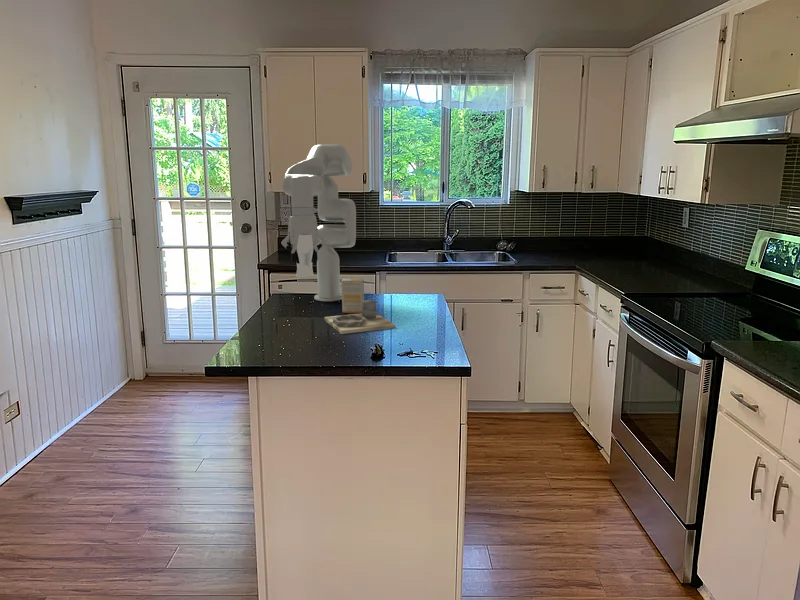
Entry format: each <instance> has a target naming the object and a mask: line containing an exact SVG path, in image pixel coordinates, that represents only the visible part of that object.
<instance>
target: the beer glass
mask: <svg viewBox="0 0 800 600" xmlns="http://www.w3.org/2000/svg"><path fill="white" fill-rule="evenodd" d="M295 253H296V257H297V264H296V274H295V275H296V277H297V278H303V279H304V278H305V279H306V278H312V277H314V275H315V274H314V270H313V255H314V244H313V239H312V234H309V235H299V238H298V243H297V245H296V250H295Z"/></svg>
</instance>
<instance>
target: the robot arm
mask: <svg viewBox="0 0 800 600" xmlns="http://www.w3.org/2000/svg"><path fill="white" fill-rule="evenodd" d="M352 170H353V162H352V159H351V157H350V155H349V152H348V150H347V149H346V148H345V146H343V145H341V144H338V143H336V144H334V143H333V144H323V143H322V144H321V143H320V144H316V145H314V146H312V147H311V149H310V150H309V151H308V154H307V156H306V158H305V159H304V160H301V161H300V162H297V163H296V164H293V165H291V166H290V167H288V169H287V170H286V172H285V174H284V176H283V179H282V186H281V187H282V190H283V193H284V194H285V195H287V196H290V200H291V201H290V202H291V203H290V204H291V215H290V216H289V217H288V225H287V236H285V238H284V239H282V241H280V242H281V245H282V246H283V247H284V248H285V249H286V250H288V251H289V252H290V260H291V261H290V262H291V263H292V264H293V265H294V266H297V257H296V253H295V250H296V245H297V243H298V238H299V235H309V234H312V239H313V244H314V255H313V262H312V264H316V274H317V277H316V278H317V280H316V281H317V294H315V295H314V297H313V298H314V300H315V301H318V302H338V301H342V293H341V274H340V269H341V268H340V256H339V254H338V252H337V251H336V250H335V249H336V248H338V249H341V248H342V249H343V248H352V247H354V246H355V245H356V239H357V209H356V208H357V207H356V203H355V201H354V200H352V199H350V198H340V197H339V187H338V184H337V182H336V181H335V179H334V178H333V177H346V176H349V175H350V174H351V173H352ZM314 197H317V208H315V206H314ZM316 213H317V216H318V219H319V220H321V221H324V222H337V223H338V222H343V223H344V224H320V225H318V221H317V216H316V215H315V214H316ZM289 244H290V245H291V246H290V245H289Z"/></svg>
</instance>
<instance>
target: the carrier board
mask: <svg viewBox="0 0 800 600" xmlns="http://www.w3.org/2000/svg"><path fill="white" fill-rule="evenodd" d="M376 302H377V301H376V300H373V299H367V300H365V299H364V301H362V313H348V314H341V315H330V316H324V321H325V322H326V323H327V324H328V325H330V326H331V328H332V327H333V329H334V330H336V331H337V332H339V334H341V335H345V334H346V335H347V334H355V333H364V332H371V331H373V332H374V331H382V330H389V329H396V323H394V322H392V321H390V320H389V319H387V318H385V317H384V316H382V315H380V314H379V313H378V312H377V303H376Z"/></svg>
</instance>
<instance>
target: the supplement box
mask: <svg viewBox="0 0 800 600" xmlns="http://www.w3.org/2000/svg"><path fill="white" fill-rule="evenodd" d="M364 283H365V281H364V277H363V278H361V277H360V278H359V277H356V278H355V277H353V278H351V277H346V278H345V277H343V278H342V279H340V287H341V294H342V300H341V311H342V312H341V313H342V314H344V313H345V314H346V313H347V314H359V313H362V301H365V286H364V285H365V284H364Z"/></svg>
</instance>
